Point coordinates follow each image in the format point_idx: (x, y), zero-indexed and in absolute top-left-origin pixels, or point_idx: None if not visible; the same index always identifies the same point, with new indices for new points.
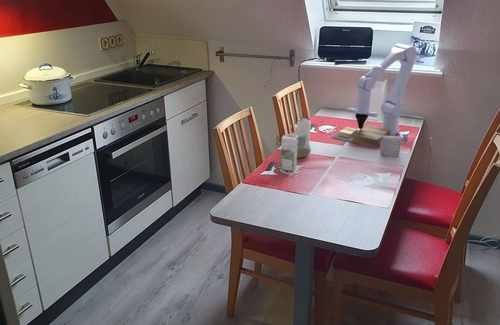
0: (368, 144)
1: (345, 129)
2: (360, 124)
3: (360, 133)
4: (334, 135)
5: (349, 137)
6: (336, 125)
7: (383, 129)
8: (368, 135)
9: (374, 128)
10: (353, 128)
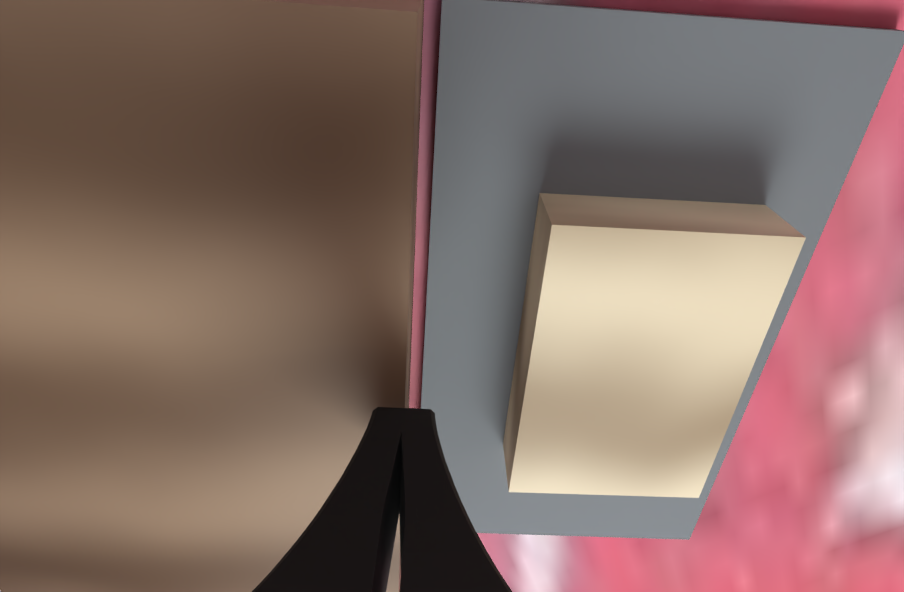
0: None
1: (697, 400)
2: (382, 480)
3: (303, 222)
4: (849, 160)
5: (550, 195)
6: (831, 553)
7: (99, 588)
8: (80, 192)
9: (235, 567)
10: (578, 492)
